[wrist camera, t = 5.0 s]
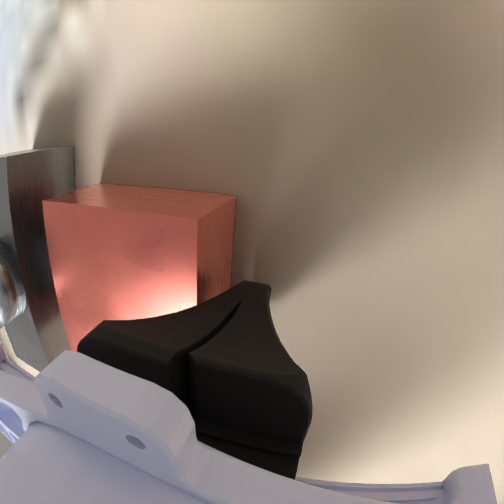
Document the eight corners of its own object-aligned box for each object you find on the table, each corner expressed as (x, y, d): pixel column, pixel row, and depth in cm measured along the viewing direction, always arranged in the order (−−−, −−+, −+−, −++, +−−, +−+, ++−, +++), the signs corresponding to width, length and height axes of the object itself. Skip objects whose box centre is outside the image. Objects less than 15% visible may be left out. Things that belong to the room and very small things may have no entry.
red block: (226, 355, 15) (199, 408, 12) (113, 322, 16) (73, 359, 13) (236, 196, 12) (197, 219, 9) (99, 183, 13) (42, 200, 10)
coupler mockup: (194, 374, 16) (145, 455, 11) (56, 323, 18) (0, 369, 13) (195, 144, 12) (94, 155, 6) (32, 149, 14) (-51, 167, 8)
